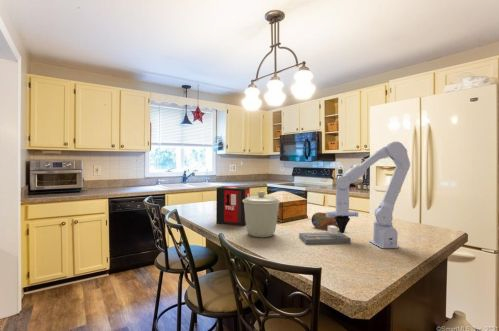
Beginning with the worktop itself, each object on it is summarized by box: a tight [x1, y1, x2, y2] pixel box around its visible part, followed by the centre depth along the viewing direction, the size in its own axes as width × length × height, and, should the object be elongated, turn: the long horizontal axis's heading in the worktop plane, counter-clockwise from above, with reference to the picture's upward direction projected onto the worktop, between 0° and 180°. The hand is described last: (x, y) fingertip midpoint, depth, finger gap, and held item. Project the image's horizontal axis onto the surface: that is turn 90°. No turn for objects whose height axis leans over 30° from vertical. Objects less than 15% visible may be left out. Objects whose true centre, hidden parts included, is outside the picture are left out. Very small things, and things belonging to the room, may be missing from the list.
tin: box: [310, 212, 339, 230], centre depth 140 cm, size 15×3×8 cm, turn 62°
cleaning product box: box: [215, 185, 251, 227], centre depth 150 cm, size 16×9×20 cm, turn 73°
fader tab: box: [327, 225, 339, 235], centre depth 121 cm, size 4×3×4 cm
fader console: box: [298, 231, 352, 245], centre depth 120 cm, size 10×20×3 cm, turn 97°
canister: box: [242, 190, 281, 238], centre depth 128 cm, size 18×18×21 cm
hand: (341, 232), depth 121 cm, fingers closed
